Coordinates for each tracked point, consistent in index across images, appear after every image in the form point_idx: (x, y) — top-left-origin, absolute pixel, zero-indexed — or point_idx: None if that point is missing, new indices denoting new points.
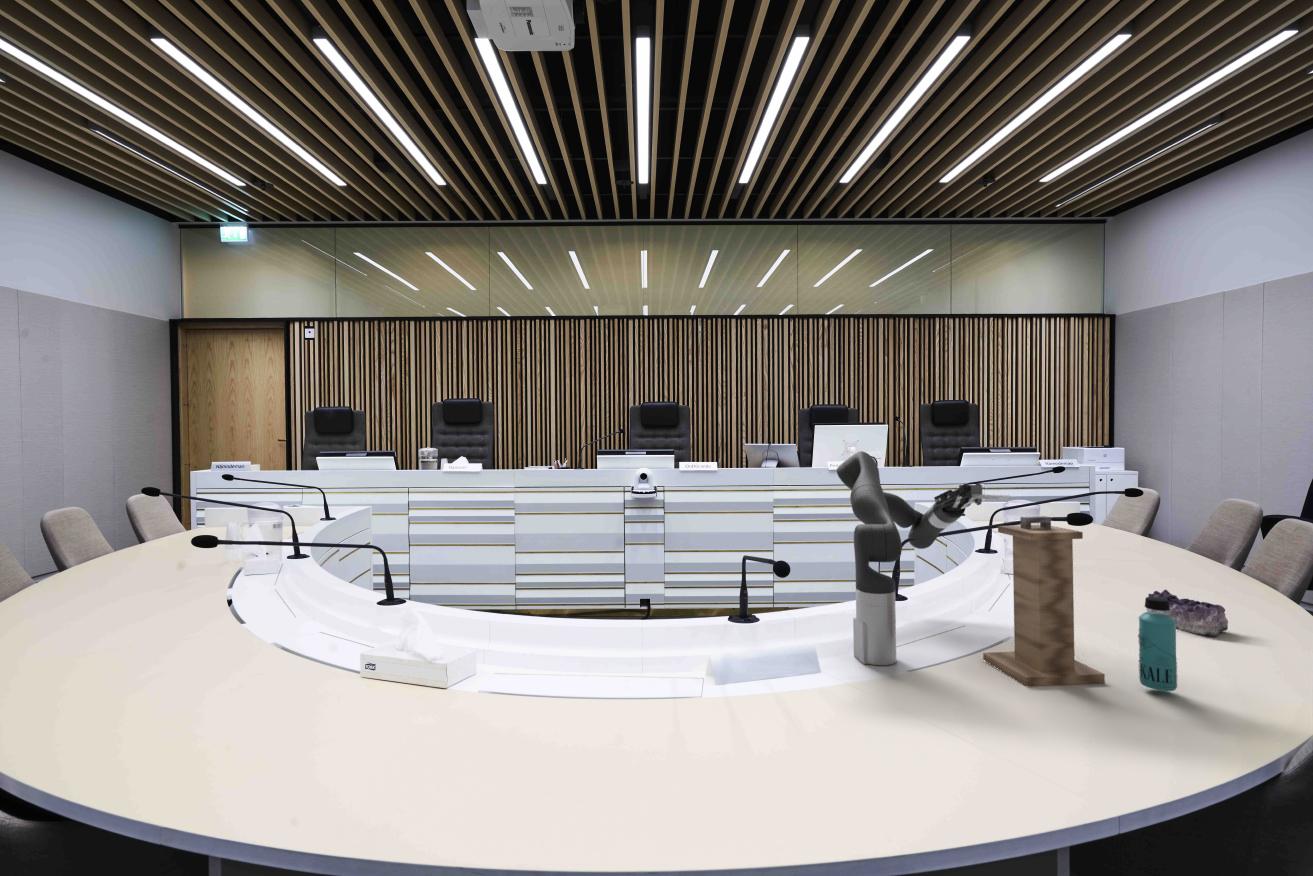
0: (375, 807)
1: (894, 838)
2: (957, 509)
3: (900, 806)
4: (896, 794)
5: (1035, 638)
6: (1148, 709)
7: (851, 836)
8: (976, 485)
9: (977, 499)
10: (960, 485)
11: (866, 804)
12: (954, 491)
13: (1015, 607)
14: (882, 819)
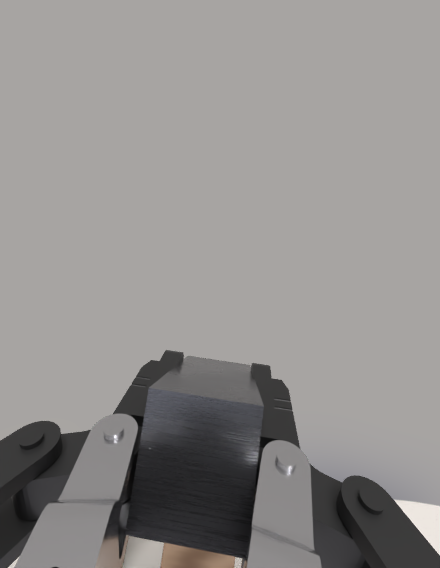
0: None
1: (410, 506)
2: None
3: (412, 520)
4: (416, 527)
5: None
6: (162, 553)
7: (432, 512)
8: (218, 362)
9: (11, 561)
10: (260, 402)
11: (432, 526)
12: (320, 476)
13: None
14: (419, 516)
